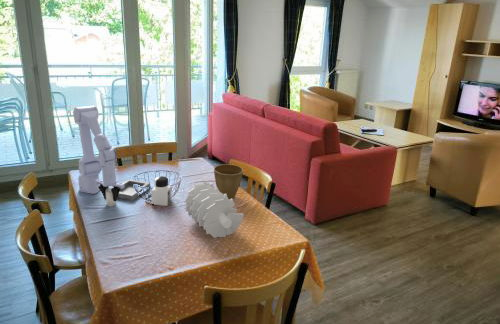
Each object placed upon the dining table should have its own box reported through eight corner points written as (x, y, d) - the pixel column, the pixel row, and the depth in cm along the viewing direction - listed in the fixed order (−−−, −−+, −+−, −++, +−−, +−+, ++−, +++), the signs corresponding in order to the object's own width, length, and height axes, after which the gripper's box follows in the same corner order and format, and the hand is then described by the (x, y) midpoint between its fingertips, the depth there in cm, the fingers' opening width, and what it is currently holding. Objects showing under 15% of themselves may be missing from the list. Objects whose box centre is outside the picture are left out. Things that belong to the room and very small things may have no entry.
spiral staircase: (216, 251, 157) (190, 222, 176) (250, 226, 163) (221, 200, 181) (201, 221, 146) (175, 194, 165) (237, 196, 152) (208, 172, 171)
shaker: (104, 205, 180) (103, 190, 178) (110, 201, 184) (108, 186, 182) (112, 206, 179) (111, 191, 177) (118, 203, 183) (117, 188, 181)
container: (171, 199, 190) (171, 175, 186) (167, 206, 183) (166, 181, 179) (156, 198, 191) (156, 174, 186) (151, 204, 184) (150, 180, 179)
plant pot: (229, 206, 186) (230, 177, 181) (207, 197, 194) (207, 168, 189) (247, 197, 198) (249, 169, 192) (225, 189, 206) (227, 161, 200)
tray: (109, 196, 189) (109, 191, 188) (128, 184, 204) (128, 179, 203) (132, 201, 186) (132, 195, 185) (150, 188, 201) (149, 182, 200)
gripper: (90, 174, 174) (92, 200, 179) (117, 178, 171) (119, 205, 176) (99, 168, 181) (101, 194, 185) (126, 173, 177) (127, 199, 182)
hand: (111, 199), depth 181 cm, fingers closed on shaker, 4 cm apart
